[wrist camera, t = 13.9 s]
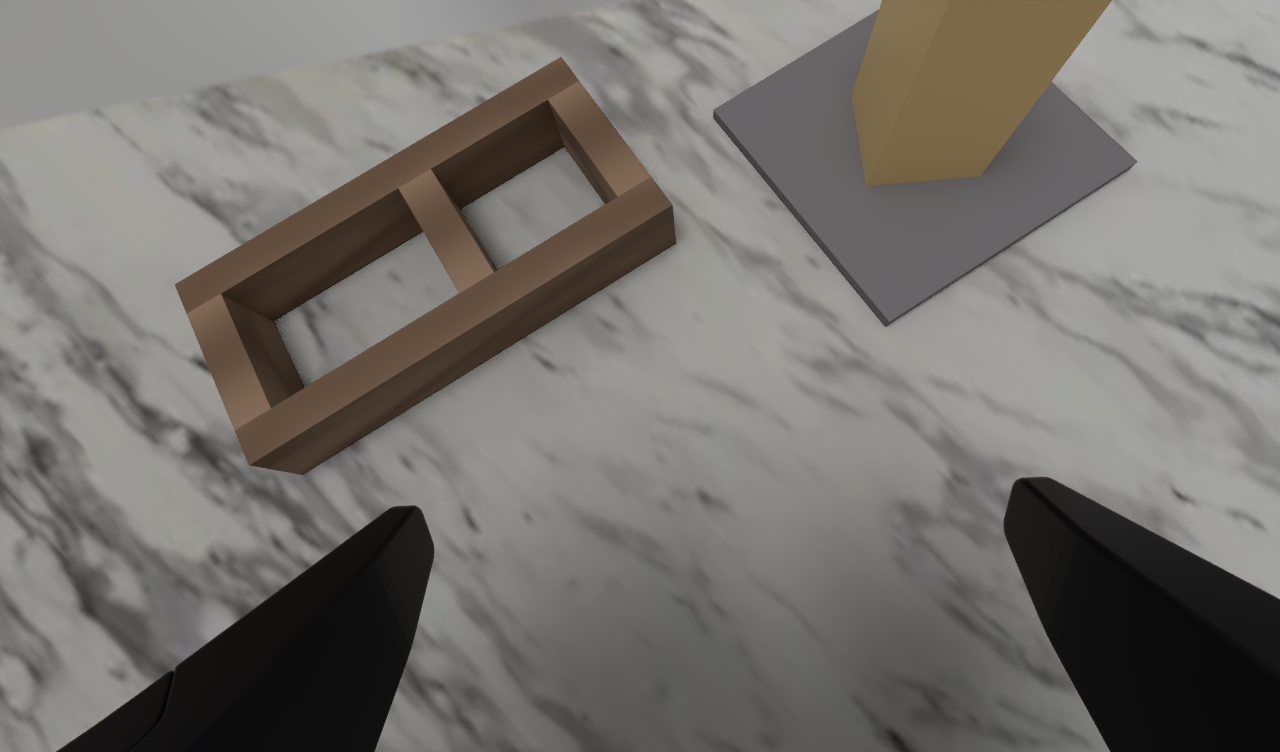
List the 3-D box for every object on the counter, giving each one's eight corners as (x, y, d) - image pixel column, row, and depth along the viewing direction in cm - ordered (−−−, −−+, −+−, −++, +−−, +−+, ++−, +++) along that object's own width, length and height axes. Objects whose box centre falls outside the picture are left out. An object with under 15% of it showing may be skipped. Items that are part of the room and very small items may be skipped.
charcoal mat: (1128, 169, 24) (1137, 161, 24) (885, 326, 24) (889, 322, 23) (931, -16, 28) (935, -26, 27) (713, 117, 27) (713, 109, 27)
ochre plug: (980, 176, 24) (1130, -25, 16) (865, 186, 25) (951, -5, 16) (960, 84, 26) (1089, -150, 17) (851, 95, 26) (923, -128, 17)
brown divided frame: (675, 243, 26) (672, 204, 23) (302, 474, 24) (248, 465, 22) (575, 107, 28) (561, 56, 25) (231, 312, 27) (174, 284, 24)
